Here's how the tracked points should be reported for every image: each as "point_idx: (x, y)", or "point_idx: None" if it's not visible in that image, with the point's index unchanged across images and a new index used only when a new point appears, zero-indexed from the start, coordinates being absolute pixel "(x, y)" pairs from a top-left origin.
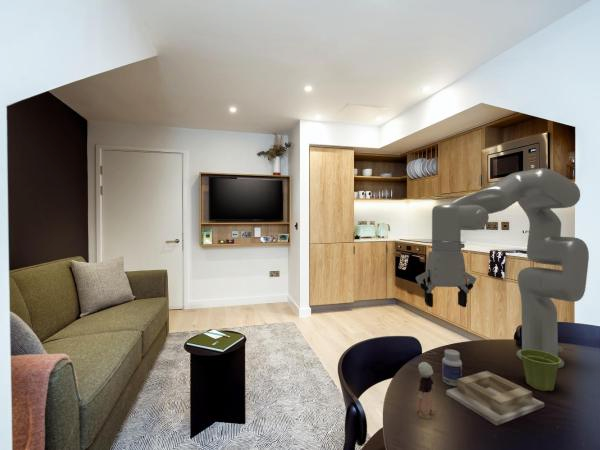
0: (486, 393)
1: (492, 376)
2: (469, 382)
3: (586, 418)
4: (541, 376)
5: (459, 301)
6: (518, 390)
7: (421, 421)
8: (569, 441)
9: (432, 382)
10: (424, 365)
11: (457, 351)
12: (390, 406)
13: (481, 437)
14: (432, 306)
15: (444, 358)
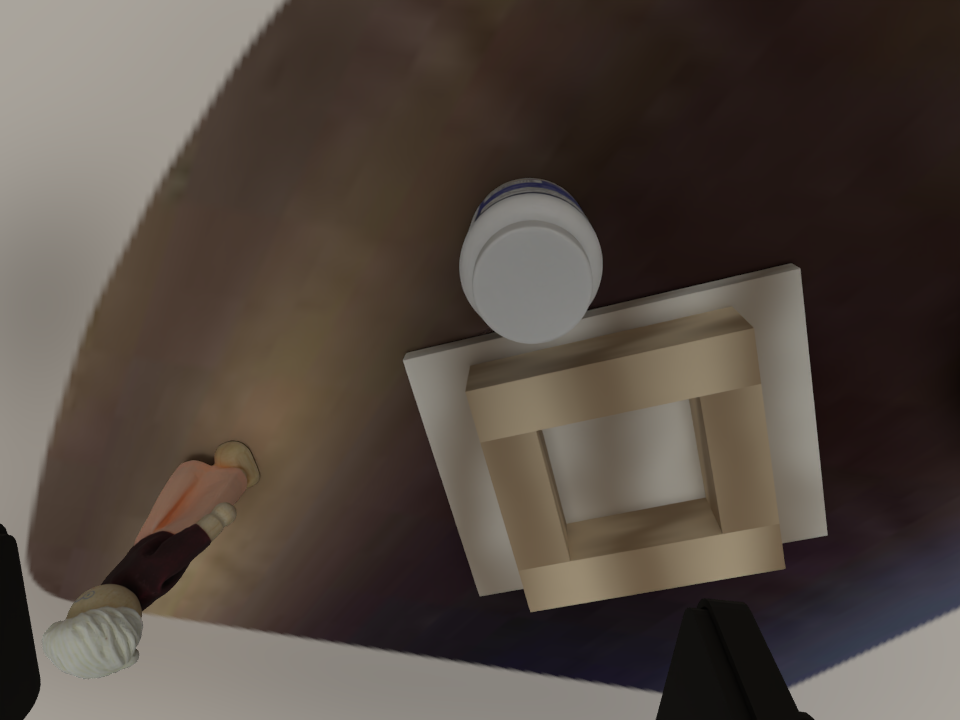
0: (525, 540)
1: (719, 400)
2: (513, 438)
3: (910, 609)
4: None
5: (695, 713)
6: (724, 546)
7: None
8: None
9: (199, 553)
10: (65, 672)
11: (589, 285)
12: (70, 400)
13: (372, 620)
14: (22, 709)
15: (477, 249)
